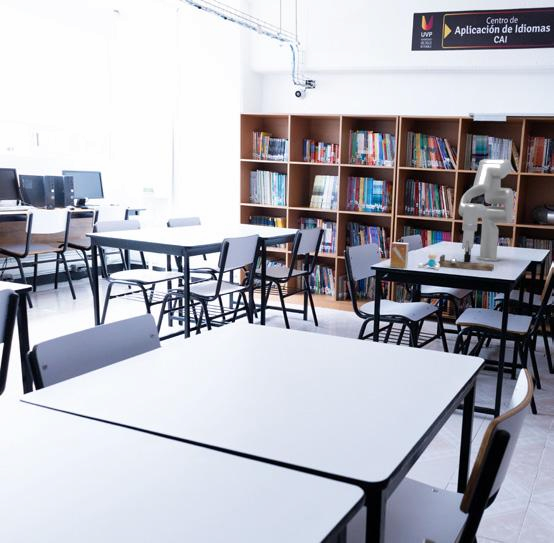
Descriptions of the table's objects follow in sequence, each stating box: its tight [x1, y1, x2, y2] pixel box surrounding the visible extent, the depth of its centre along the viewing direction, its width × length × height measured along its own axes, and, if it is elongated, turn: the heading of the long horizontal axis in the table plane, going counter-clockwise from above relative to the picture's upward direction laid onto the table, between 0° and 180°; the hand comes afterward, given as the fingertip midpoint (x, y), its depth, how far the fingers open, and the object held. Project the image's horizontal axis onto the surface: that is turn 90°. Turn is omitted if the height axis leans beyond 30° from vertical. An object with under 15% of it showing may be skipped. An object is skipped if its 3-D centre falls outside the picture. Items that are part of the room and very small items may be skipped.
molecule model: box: [417, 252, 441, 271], centre depth 349 cm, size 12×12×9 cm
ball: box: [449, 258, 459, 263], centre depth 358 cm, size 4×4×4 cm
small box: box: [389, 241, 410, 269], centre depth 348 cm, size 8×6×13 cm
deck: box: [437, 254, 495, 272], centre depth 355 cm, size 28×10×6 cm, turn 68°
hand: (467, 261), depth 355 cm, fingers closed
